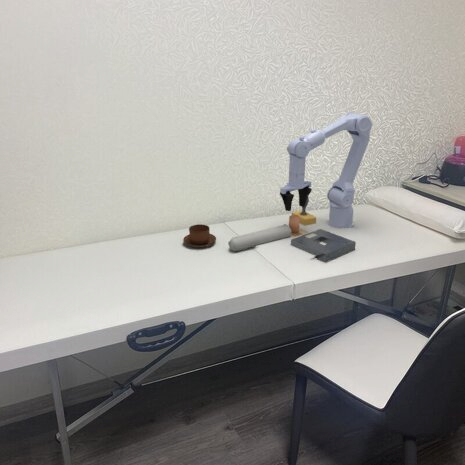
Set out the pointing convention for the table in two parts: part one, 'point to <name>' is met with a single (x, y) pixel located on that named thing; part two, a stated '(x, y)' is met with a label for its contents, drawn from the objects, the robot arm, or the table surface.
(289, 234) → the tube
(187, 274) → the table surface
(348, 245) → the grey square slab
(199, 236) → the cup and saucer
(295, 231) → the peg
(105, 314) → the table surface
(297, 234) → the tan square tile
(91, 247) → the table surface
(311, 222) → the rubber stamp
